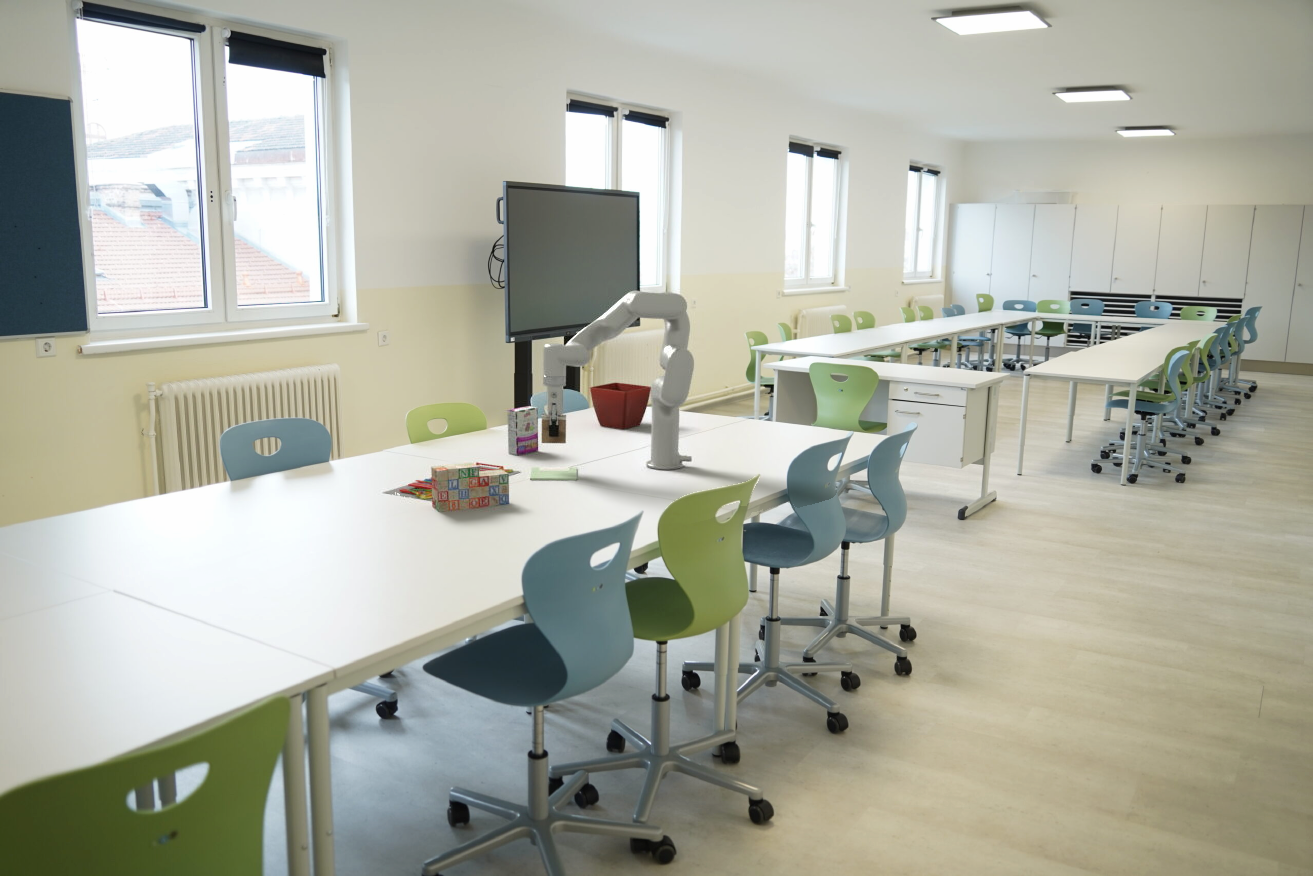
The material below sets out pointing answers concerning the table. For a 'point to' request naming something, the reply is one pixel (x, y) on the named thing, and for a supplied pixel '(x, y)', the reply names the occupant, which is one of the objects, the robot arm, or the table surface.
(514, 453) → the candy bar box
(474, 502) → the stack of blocks
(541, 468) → the green mat
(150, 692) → the table surface
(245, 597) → the table surface
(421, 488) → the gear board
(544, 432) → the walnut slab
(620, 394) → the plant pot
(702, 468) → the table surface
